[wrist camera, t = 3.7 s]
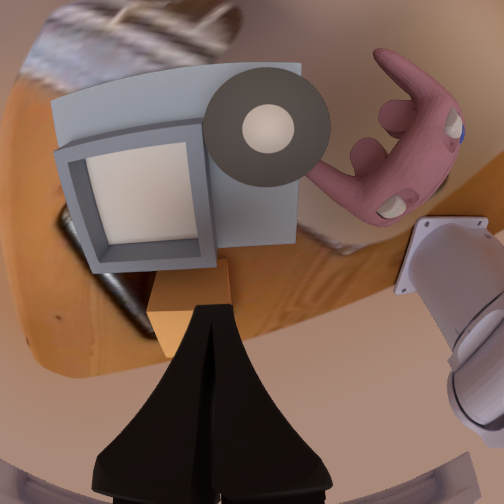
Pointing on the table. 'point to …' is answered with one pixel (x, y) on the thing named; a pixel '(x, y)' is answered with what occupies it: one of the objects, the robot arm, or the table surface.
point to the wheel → (266, 127)
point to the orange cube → (184, 300)
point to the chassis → (160, 174)
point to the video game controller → (399, 149)
